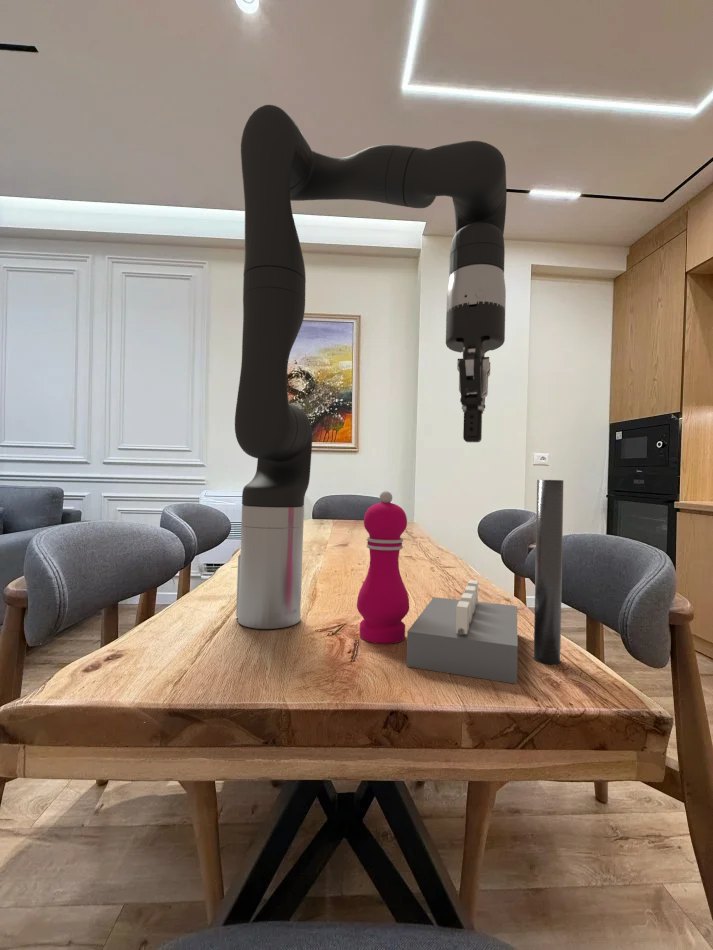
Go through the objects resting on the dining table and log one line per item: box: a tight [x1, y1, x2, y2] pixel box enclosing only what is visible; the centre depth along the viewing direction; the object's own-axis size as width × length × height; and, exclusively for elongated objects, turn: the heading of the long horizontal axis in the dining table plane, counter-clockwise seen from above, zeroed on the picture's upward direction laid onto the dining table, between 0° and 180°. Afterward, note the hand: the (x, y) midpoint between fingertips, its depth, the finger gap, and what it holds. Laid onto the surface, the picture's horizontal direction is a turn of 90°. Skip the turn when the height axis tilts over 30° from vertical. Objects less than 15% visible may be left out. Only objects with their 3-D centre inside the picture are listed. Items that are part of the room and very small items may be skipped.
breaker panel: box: [406, 596, 519, 685], centre depth 59 cm, size 12×18×4 cm, turn 161°
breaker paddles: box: [456, 579, 479, 635], centre depth 59 cm, size 1×16×3 cm, turn 160°
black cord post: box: [533, 479, 564, 665], centre depth 56 cm, size 3×3×22 cm
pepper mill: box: [356, 490, 410, 645], centre depth 63 cm, size 7×7×20 cm
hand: (472, 441), depth 60 cm, fingers closed
